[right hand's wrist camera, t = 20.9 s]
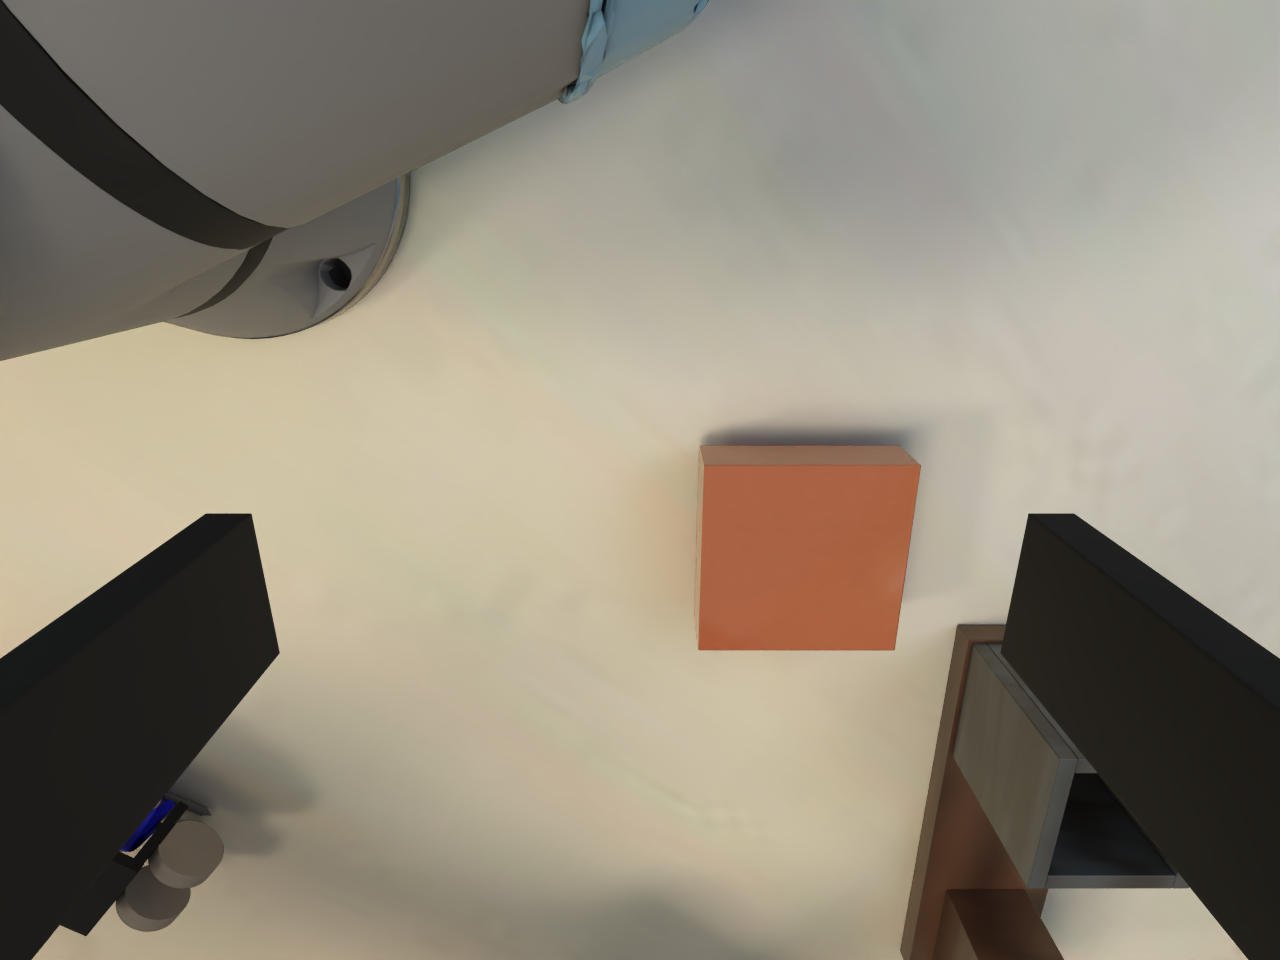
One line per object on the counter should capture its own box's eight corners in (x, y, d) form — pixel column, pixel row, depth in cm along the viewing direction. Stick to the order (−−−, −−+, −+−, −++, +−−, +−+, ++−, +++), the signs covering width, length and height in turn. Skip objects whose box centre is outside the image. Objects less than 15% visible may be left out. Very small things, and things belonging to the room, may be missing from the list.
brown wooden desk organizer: (900, 950, 50) (970, 1152, 40) (957, 624, 41) (1069, 772, 31) (1015, 950, 50) (1117, 1152, 40) (1098, 624, 41) (1260, 772, 31)
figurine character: (260, 787, 47) (16, 679, 42) (207, 897, 40) (-91, 783, 35) (211, 848, 49) (-29, 751, 44) (152, 963, 42) (-139, 864, 37)
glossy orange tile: (692, 608, 41) (698, 650, 37) (697, 437, 37) (704, 465, 34) (870, 608, 41) (895, 651, 37) (892, 437, 37) (921, 465, 34)
